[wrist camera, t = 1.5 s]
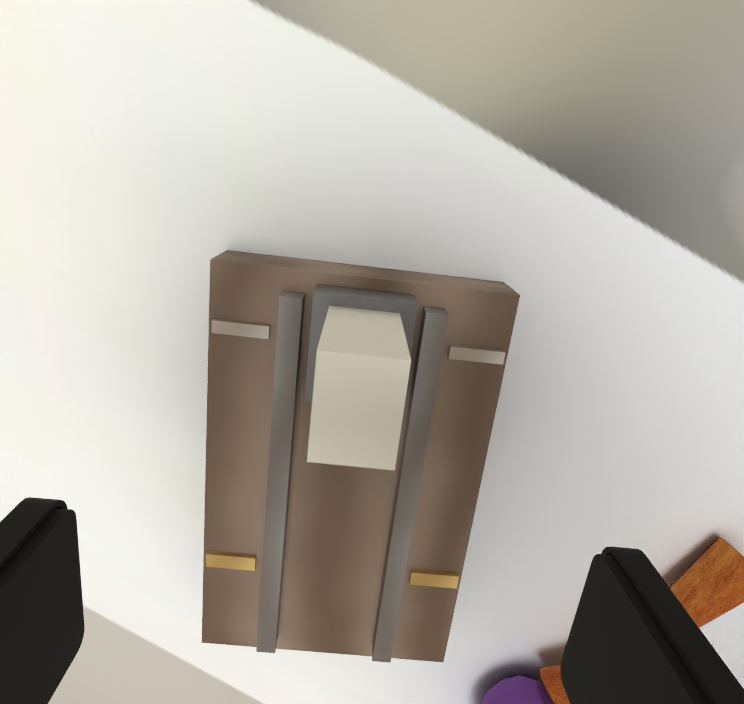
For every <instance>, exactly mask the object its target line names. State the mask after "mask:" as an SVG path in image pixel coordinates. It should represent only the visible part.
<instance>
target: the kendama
mask: <svg viewBox="0 0 744 704" xmlns="http://www.w3.org/2000/svg"><path fill="white" fill-rule="evenodd" d="M670 589H671V591H672V592H673V593H674V595H675V596H676V598H677V599H678V600H679V602H680V603H681V604H682V606H683V607H684V608H685V610H686V611H687V613H688V614H689V615H690V617H691V618H692V619H693V621H694V622H695V623H696V625H697V626H698V628H699V627H701V626H703V625H705V624H706V623H708V622H710V621H712V620H713V619H715V618H717V617H719V616H720V615H722V614H724V613H726V612H727V611H729V610H731V609H733V608H734V607H736V606H738V605H740V604H741V603H743V602H744V557H743V556H742V555H741V554H740V553H739V552H738V551H737V550H735V549H734V548H733V547H732V546H731V545H730V544H729V543H727V542H726V541H725V540H724V539H722V538H721V537H719V538H718V539H717V540H716V541H715V542H714V543H713V544H712V545H711V546H710V547H709V548H708V550H707V551H706V552H705V553H704V554H703V555H702V556H701V557H700V558H699V559H698V560H697V561H696V562H695V563H694V564H693V565H692V566H691V567H690V568H689V569H688V570H687V571H686V572H685V573H684V574H683V575H682V576H681V577H680V578H679V579H678V580H677V581H676V582H675V583H674V584H673V585H672V587H671V588H670ZM560 666H561V664H560V665H553V666H546V667H542V668H541V669H540V674H541V678H542V681H543V683H542V682H540V681H537V680H534V679H530V678H527V677H524V676H520V675H519V676H514V677H509V678H503V679H502V680H501V681H499V682H498V683H497V684H496V685H494V686H493V687H492V688H491V689H490V690H488V691H487V692H486V693H485V695H484V697H483V699H482V701H481V703H480V704H570V702H569V699H568V697H567V694H566V692H565V689H564V687H563V683H562V679H561V672H560Z"/></svg>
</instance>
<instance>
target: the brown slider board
mask: <svg viewBox="0 0 744 704" xmlns="http://www.w3.org/2000/svg"><path fill="white" fill-rule="evenodd" d="M317 284H318V285H327V286H336V287H345V288H354V289H362V290H371V291H380V292H389V293H398V294H406V295H415V298H416V300H417V303H418V307H417V313H416V320H415V327H414V334H413V340H412V347H411V354H410V357H411V365H410V372H409V379H408V385H407V392H406V399H405V406H404V412H403V419H402V426H401V432H400V439H399V446H398V452H397V459H396V466H395V471H394V470H384V469H374V468H364V467H354V466H344V465H333V464H323V463H313V462H307V454H308V443H309V432H310V420H311V409H312V402H306V401H304V399H305V388H306V376H307V364H308V352H309V340H310V329H311V317H312V305H313V293H314V290H315V288H316V285H317ZM519 297H520V295H519V294H518V293H516V292H515V291H514V290H513V289H511V288H510V287H509V286H508V285H506V284H505V283H504V282H496V281H487V280H479V279H470V278H461V277H453V276H444V275H436V274H427V273H418V272H410V271H401V270H392V269H384V268H375V267H367V266H358V265H349V264H341V263H332V262H323V261H315V260H306V259H298V258H289V257H280V256H272V255H263V254H254V253H246V252H237V251H229V250H227V251H225V252H223V253H221V254H220V255H218V256H216V257H214V258H213V259H211V260H210V304H209V349H208V394H207V438H206V483H205V528H204V572H203V617H202V642H203V643H215V644H227V645H240V646H252V647H257V652H269V653H275V649H289V650H301V651H313V652H326V653H338V654H350V655H362V656H372V661H380V662H390V661H391V658H399V659H411V660H424V661H436V662H443V661H444V656H445V651H446V646H447V641H448V637H449V632H450V627H451V622H452V618H453V613H454V608H455V603H456V598H457V594H458V589H459V584H460V579H461V574H462V570H463V565H464V560H465V555H466V551H467V546H468V541H469V536H470V531H471V527H472V522H473V517H474V512H475V507H476V503H477V498H478V493H479V488H480V483H481V479H482V474H483V469H484V464H485V460H486V455H487V450H488V445H489V440H490V436H491V431H492V426H493V421H494V416H495V412H496V407H497V402H498V397H499V392H500V388H501V383H502V378H503V373H504V369H505V364H506V359H507V354H508V349H509V345H510V340H511V335H512V330H513V325H514V321H515V316H516V311H517V306H518V302H519Z"/></svg>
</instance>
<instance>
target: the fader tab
mask: <svg viewBox="0 0 744 704" xmlns="http://www.w3.org/2000/svg"><path fill="white" fill-rule="evenodd" d="M417 307H418V303H417V300H416V298H415V295H406V294H398V293H389V292H380V291H371V290H362V289H354V288H345V287H336V286H327V285H318V284H317V285H316V288H315V290H314V293H313V305H312V317H311V329H310V340H309V352H308V364H307V376H306V388H305V399H304V401H306V402H312V409H311V420H310V432H309V443H308V454H307V462H313V463H323V464H333V465H344V466H354V467H364V468H374V469H384V470H394V471H395V466H396V459H397V452H398V446H399V439H400V432H401V426H402V419H403V412H404V406H405V399H406V392H407V385H408V379H409V372H410V365H411V357H410V354H411V347H412V340H413V334H414V327H415V320H416V313H417Z"/></svg>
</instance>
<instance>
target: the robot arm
mask: <svg viewBox="0 0 744 704" xmlns="http://www.w3.org/2000/svg"><path fill="white" fill-rule="evenodd" d="M83 635H84V617H83V603H82V589H81V576H80V562H79V549H78V536H77V522H76V514H75V512H74V511H73V510H69V509H67V505H66V503H65V502H64V501H62V500H54V499H42V498H30V497H29V498H25V499H24V500H23V501H21V502H20V503H19V504H18V505H17V506H16V507H15V508H14V509H13V510H12V511H11V512H10V513H9V514H8V515H7V516H6V517H5V518H4V519H3V520H2V521H1V522H0V704H48V702H49V700H50V699H51V697H52V695H53V694H54V692H55V690H56V688H57V687H58V685H59V683H60V682H61V680H62V678H63V676H64V675H65V673H66V671H67V669H68V668H69V666H70V664H71V663H72V661H73V659H74V657H75V656H76V654H77V652H78V650H79V648H80V645H81V643H82V639H83ZM560 672H561V679H562V683H563V687H564V689H565V692H566V694H567V697H568V699H569V702H570V704H744V689H743V688H742V686H741V685H740V684H739V682H738V681H737V679H736V678H735V677H734V675H733V674H732V673H731V671H730V670H729V669H728V667H727V666H726V664H725V663H724V662H723V660H722V659H721V658H720V656H719V655H718V654H717V652H716V651H715V649H714V648H713V647H712V645H711V644H710V643H709V641H708V640H707V638H706V637H705V636H704V634H703V633H702V632H701V630H700V629H699V628H698V626H697V625H696V623H695V622H694V621H693V619H692V618H691V617H690V615H689V614H688V613H687V611H686V610H685V608H684V607H683V606H682V604H681V603H680V602H679V600H678V599H677V598H676V596H675V595H674V593H673V592H672V591H671V589H670V588H669V587H668V585H667V584H666V583H665V581H664V580H663V578H662V577H661V576H660V574H659V573H658V572H657V570H656V569H655V567H654V566H653V565H652V563H651V562H650V561H649V559H648V558H647V557H646V555H645V554H644V553H643V552H642V551H641V550H638V549H631V548H620V547H606V548H605V549H604V550H603V551H602V553H601V554H596V555H595V556H594V558H593V560H592V563H591V566H590V569H589V573H588V576H587V579H586V582H585V586H584V589H583V592H582V595H581V599H580V602H579V605H578V608H577V612H576V615H575V618H574V621H573V624H572V628H571V631H570V634H569V637H568V641H567V644H566V647H565V650H564V654H563V657H562V660H561V666H560Z"/></svg>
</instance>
